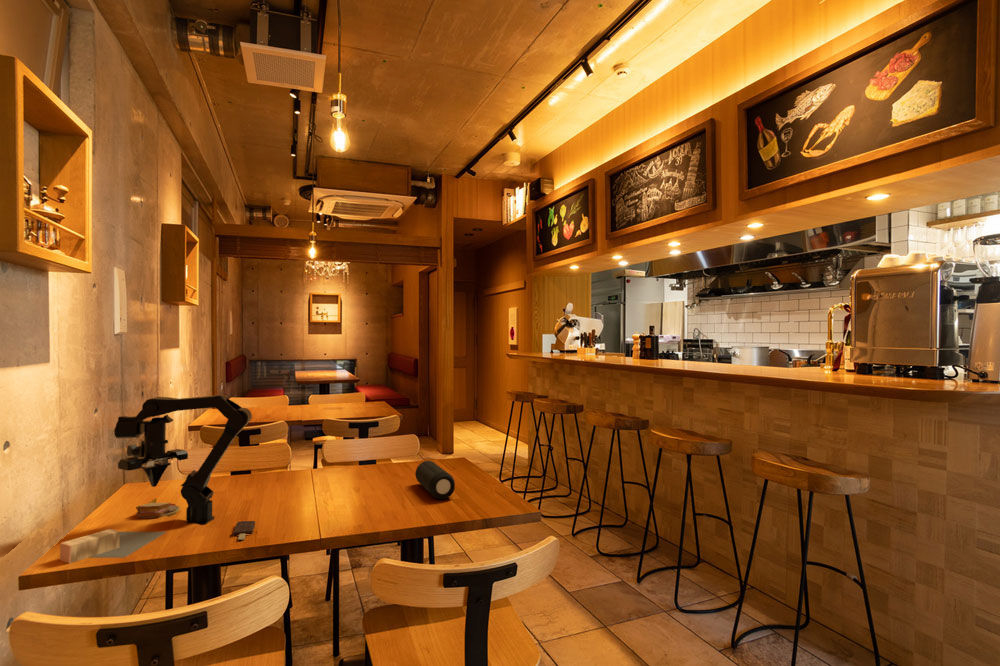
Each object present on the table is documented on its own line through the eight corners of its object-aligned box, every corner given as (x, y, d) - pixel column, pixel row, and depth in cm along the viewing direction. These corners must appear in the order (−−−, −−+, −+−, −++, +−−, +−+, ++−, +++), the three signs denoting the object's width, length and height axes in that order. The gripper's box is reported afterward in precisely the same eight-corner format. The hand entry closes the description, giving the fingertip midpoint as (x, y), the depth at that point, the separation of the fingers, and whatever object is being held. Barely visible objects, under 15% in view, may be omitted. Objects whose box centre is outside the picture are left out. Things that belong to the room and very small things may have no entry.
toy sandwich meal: (188, 509, 186) (188, 495, 186) (158, 522, 173) (158, 507, 173) (156, 507, 188) (156, 493, 188) (123, 520, 174) (124, 505, 174)
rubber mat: (167, 533, 162) (167, 531, 162) (124, 559, 143) (124, 557, 143) (116, 533, 162) (116, 531, 162) (67, 559, 143) (67, 557, 143)
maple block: (110, 528, 152) (60, 543, 141) (119, 531, 150) (69, 546, 139) (110, 544, 152) (59, 560, 141) (119, 547, 150) (69, 563, 139)
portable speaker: (456, 499, 200) (457, 472, 200) (431, 502, 196) (431, 475, 196) (436, 482, 224) (437, 458, 224) (413, 484, 220) (413, 460, 220)
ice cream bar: (250, 541, 158) (255, 524, 172) (250, 536, 158) (255, 519, 172) (230, 543, 156) (236, 526, 170) (231, 538, 156) (237, 521, 170)
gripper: (168, 430, 182) (167, 476, 182) (108, 439, 166) (107, 490, 165) (189, 433, 177) (188, 480, 177) (129, 443, 161) (128, 495, 160)
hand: (153, 486), depth 170 cm, fingers closed
